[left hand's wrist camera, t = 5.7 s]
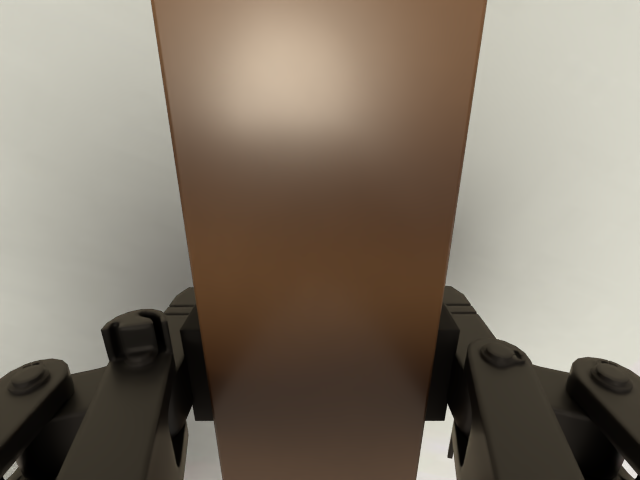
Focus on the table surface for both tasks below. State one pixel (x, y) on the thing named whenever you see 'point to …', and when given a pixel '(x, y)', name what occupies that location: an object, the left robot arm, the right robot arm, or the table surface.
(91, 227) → the table surface
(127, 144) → the table surface
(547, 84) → the table surface
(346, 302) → the beam
